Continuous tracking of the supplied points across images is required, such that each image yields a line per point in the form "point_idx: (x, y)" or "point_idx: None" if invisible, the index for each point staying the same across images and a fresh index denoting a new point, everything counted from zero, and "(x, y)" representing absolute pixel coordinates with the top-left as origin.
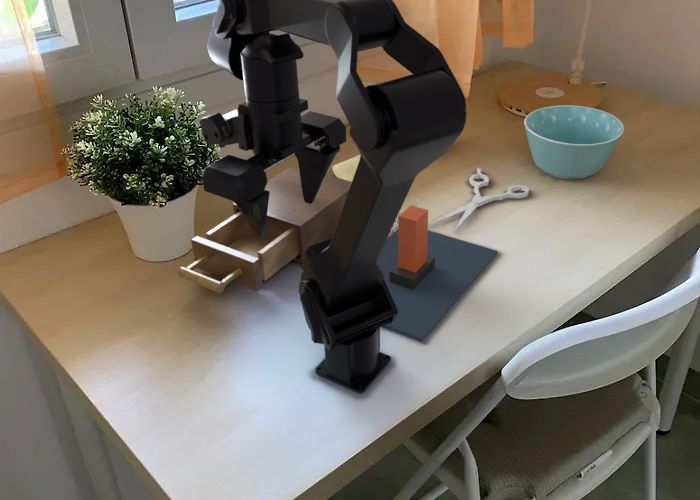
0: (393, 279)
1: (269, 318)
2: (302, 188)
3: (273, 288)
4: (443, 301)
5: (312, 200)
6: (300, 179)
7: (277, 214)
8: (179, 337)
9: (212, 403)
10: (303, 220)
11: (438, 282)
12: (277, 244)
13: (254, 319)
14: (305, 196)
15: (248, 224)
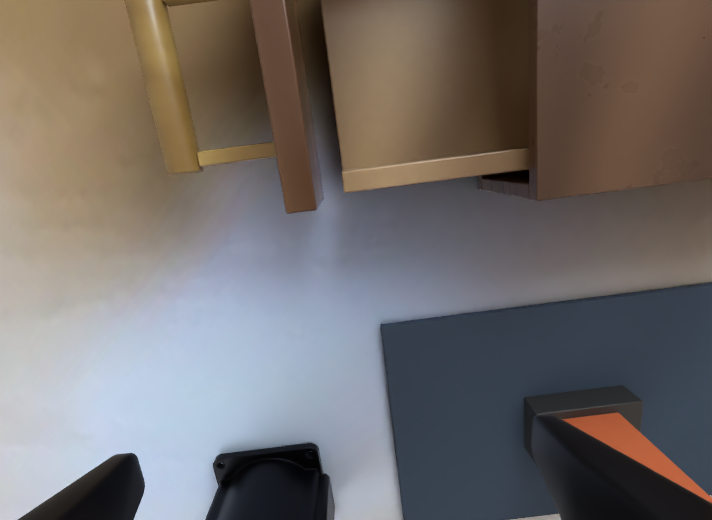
0: (528, 411)
1: (266, 280)
2: (586, 475)
3: (352, 203)
4: (520, 504)
5: (545, 480)
6: (646, 515)
7: (563, 56)
8: (72, 168)
9: (30, 376)
10: (575, 180)
11: None
12: (424, 181)
13: (241, 256)
14: (552, 452)
15: (34, 509)
